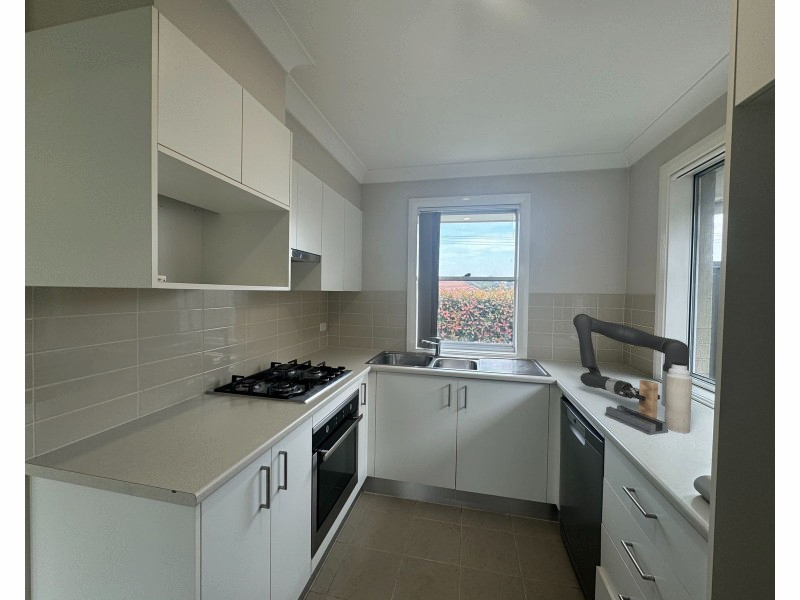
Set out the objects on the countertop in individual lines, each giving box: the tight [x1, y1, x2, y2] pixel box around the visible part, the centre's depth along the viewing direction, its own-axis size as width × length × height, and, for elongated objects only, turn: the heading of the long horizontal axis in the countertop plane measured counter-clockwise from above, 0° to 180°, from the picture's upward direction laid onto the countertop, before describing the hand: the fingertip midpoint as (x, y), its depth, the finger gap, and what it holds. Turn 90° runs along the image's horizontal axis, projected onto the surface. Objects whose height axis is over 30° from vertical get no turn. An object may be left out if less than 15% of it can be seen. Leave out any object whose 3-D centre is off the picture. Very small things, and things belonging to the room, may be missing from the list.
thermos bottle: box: [664, 361, 693, 434], centre depth 130 cm, size 8×8×28 cm
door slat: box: [638, 379, 659, 419], centre depth 143 cm, size 6×3×16 cm, turn 15°
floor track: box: [604, 404, 669, 436], centre depth 135 cm, size 20×10×4 cm, turn 15°
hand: (652, 398), depth 141 cm, fingers open, 8 cm apart
